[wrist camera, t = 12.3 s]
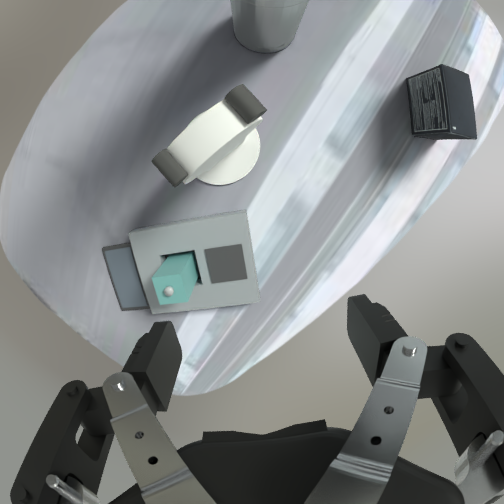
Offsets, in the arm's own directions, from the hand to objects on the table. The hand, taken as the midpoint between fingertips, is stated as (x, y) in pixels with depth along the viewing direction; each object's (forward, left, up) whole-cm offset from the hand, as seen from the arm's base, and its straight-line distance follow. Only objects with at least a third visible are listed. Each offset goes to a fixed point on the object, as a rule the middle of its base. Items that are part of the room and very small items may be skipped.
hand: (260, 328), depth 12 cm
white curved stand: (-10, -3, -30) cm, 32 cm away
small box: (-14, +31, -30) cm, 46 cm away
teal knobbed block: (+7, -12, -30) cm, 33 cm away
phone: (+8, -23, -31) cm, 39 cm away
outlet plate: (+7, -10, -30) cm, 32 cm away
